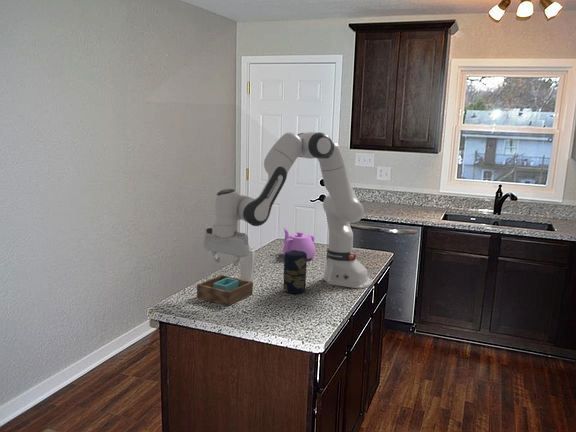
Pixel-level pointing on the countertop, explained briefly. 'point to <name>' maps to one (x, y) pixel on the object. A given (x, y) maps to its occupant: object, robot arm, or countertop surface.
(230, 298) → the walnut crate
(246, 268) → the white cup
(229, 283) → the teal crate
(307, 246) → the teapot
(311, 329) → the countertop surface
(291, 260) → the canister
